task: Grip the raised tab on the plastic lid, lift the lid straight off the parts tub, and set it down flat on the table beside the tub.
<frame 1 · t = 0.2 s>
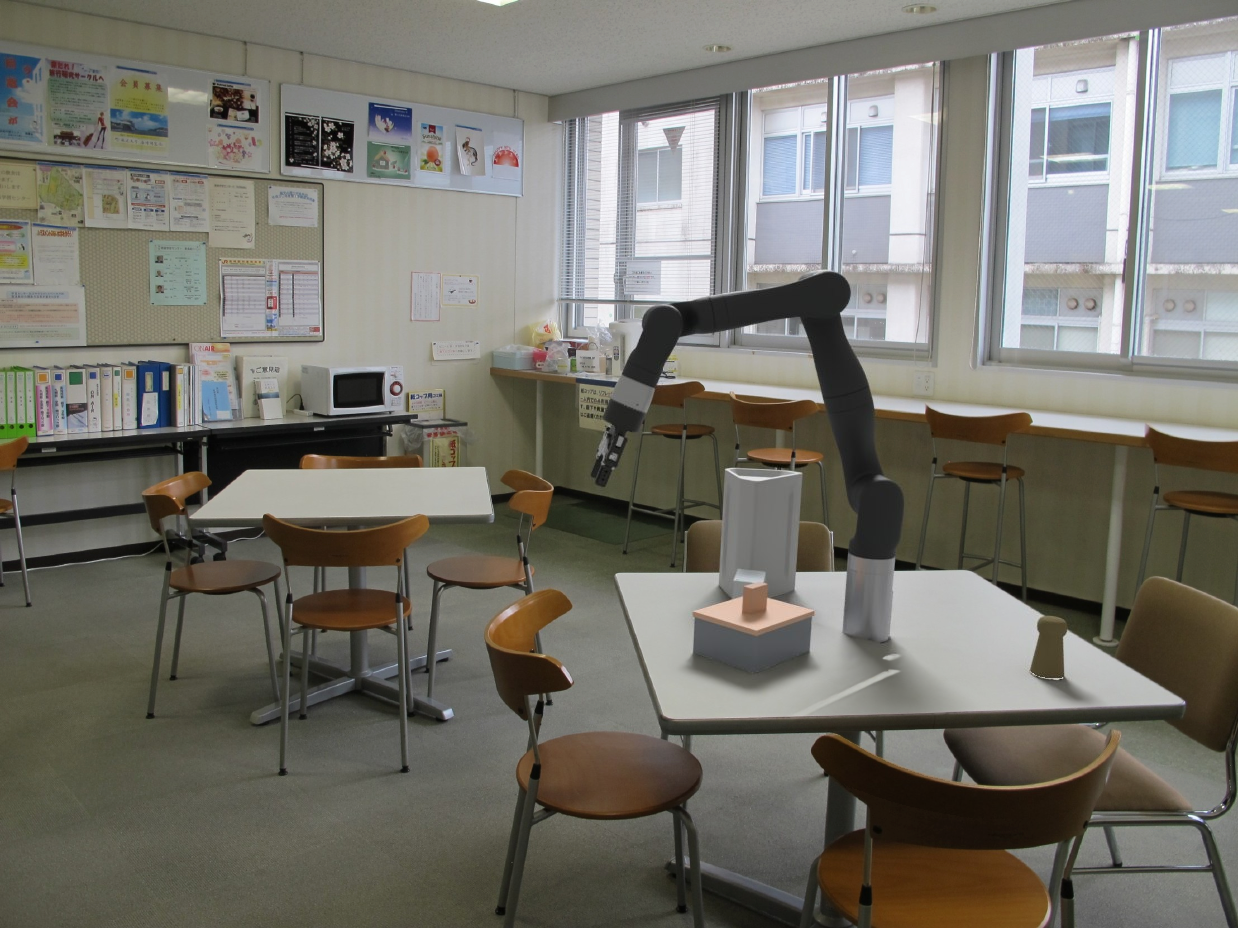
hand: (596, 481, 192), 31 cm above the table, tool tilted 20°, fingers open, 8 cm apart
skincare box: (746, 624, 210), on the table
tub: (751, 656, 189), on the table
lid: (753, 616, 188), point 8 cm above the table, touching tub
metal part A: (755, 644, 193), point 1 cm above the table, touching tub
metal part B: (747, 659, 185), point 1 cm above the table, touching tub
cork: (1046, 675, 186), on the table
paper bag: (747, 591, 235), on the table
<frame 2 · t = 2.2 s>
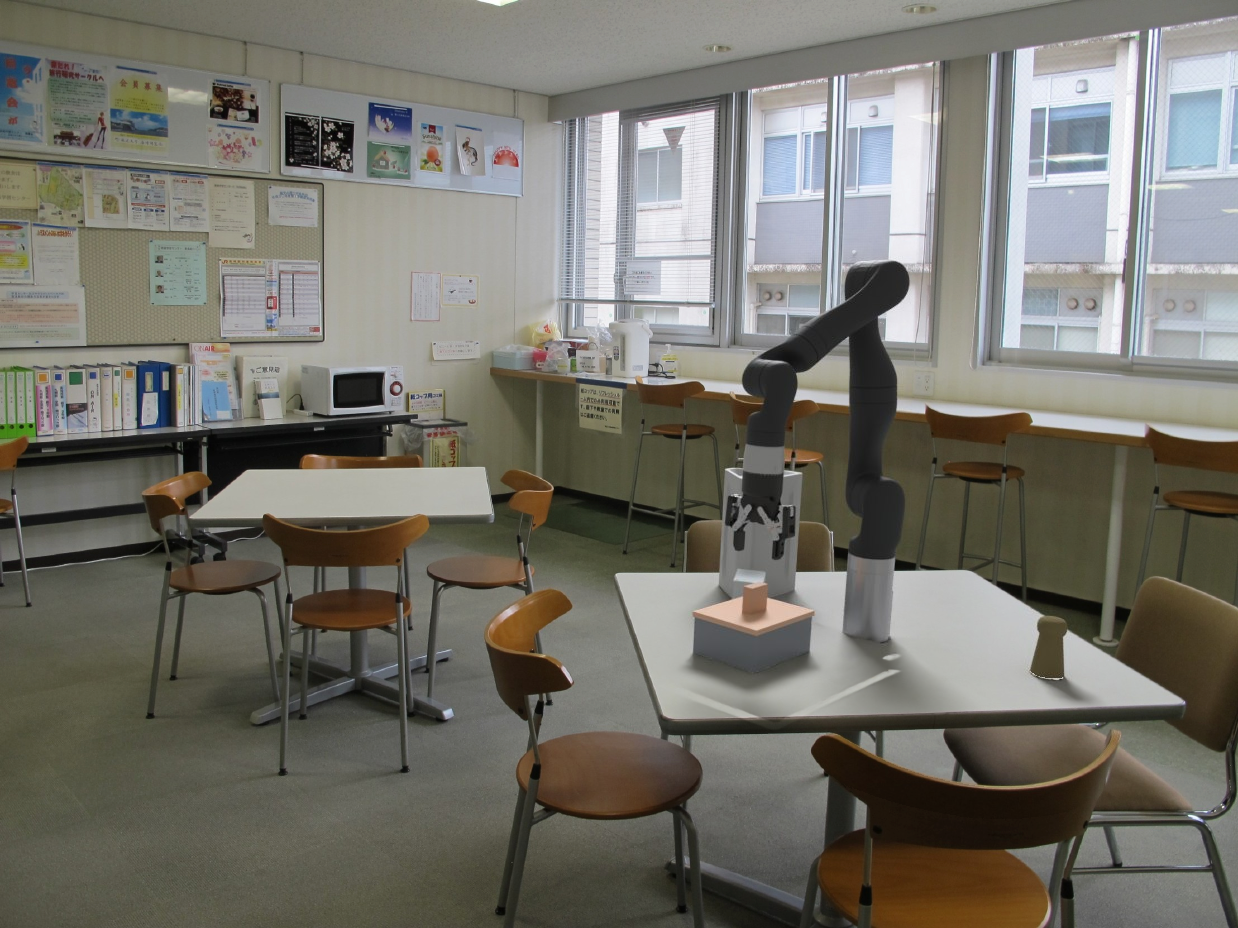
hand: (757, 554, 186), 20 cm above the table, tool pointing down, fingers open, 8 cm apart
nothing on the table moved.
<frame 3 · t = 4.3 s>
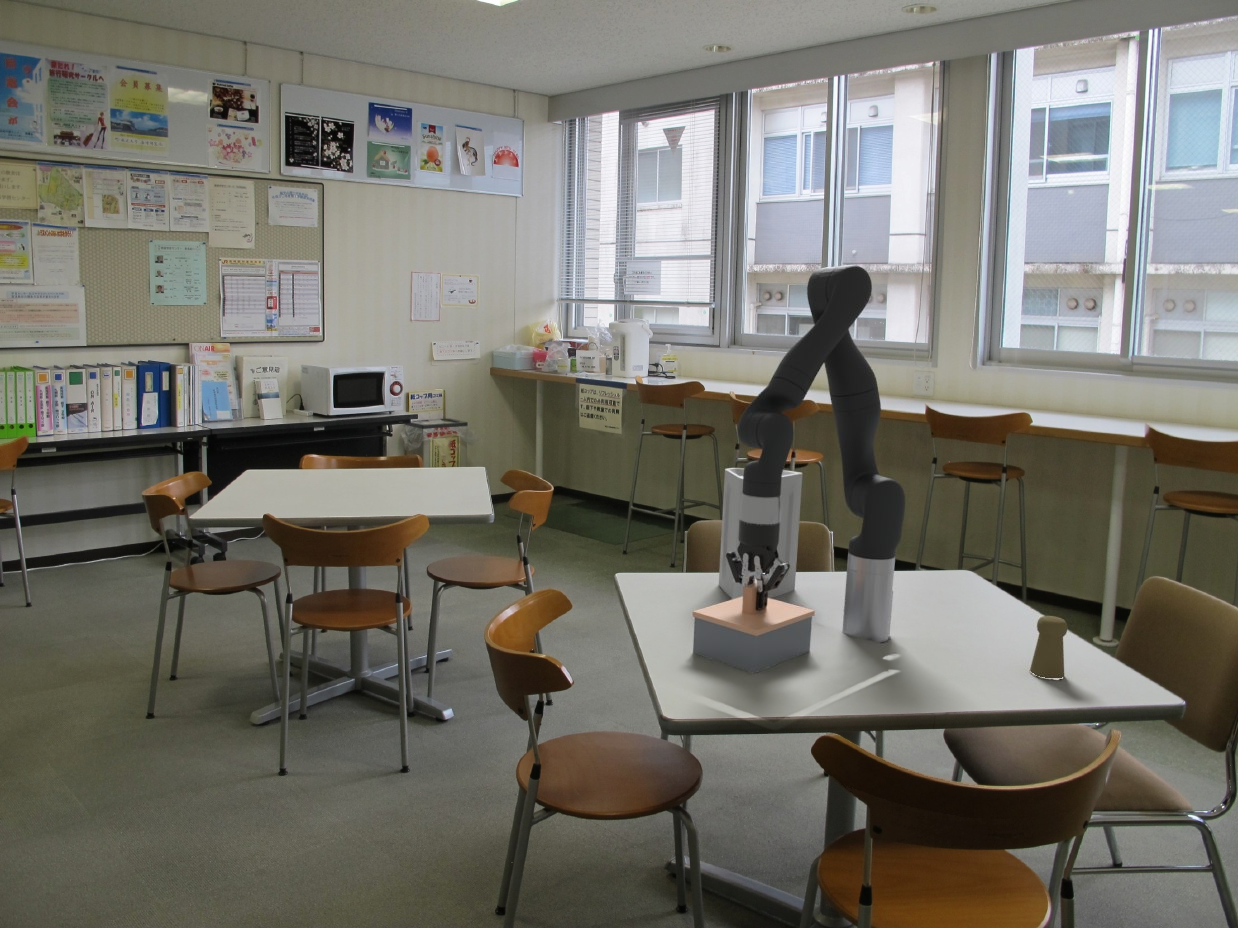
hand: (754, 608, 188), 10 cm above the table, tool pointing down, fingers closed on lid
lid: (754, 616, 188), point 8 cm above the table, touching gripper, tub
everything else where it was.
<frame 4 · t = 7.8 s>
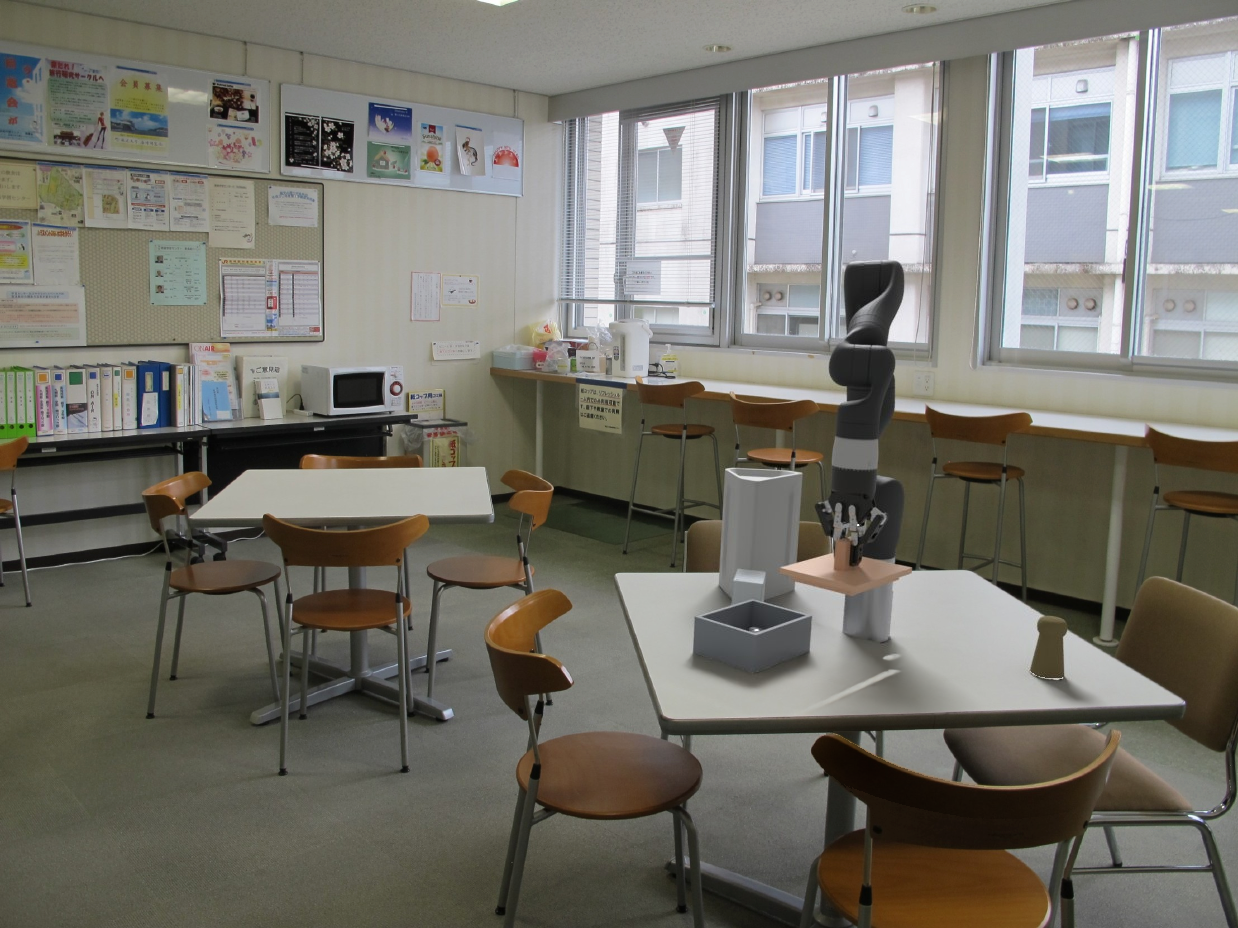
hand: (847, 563, 171), 23 cm above the table, tool pointing down, fingers closed on lid
lid: (846, 573, 171), point 21 cm above the table, touching gripper
everything else where it was.
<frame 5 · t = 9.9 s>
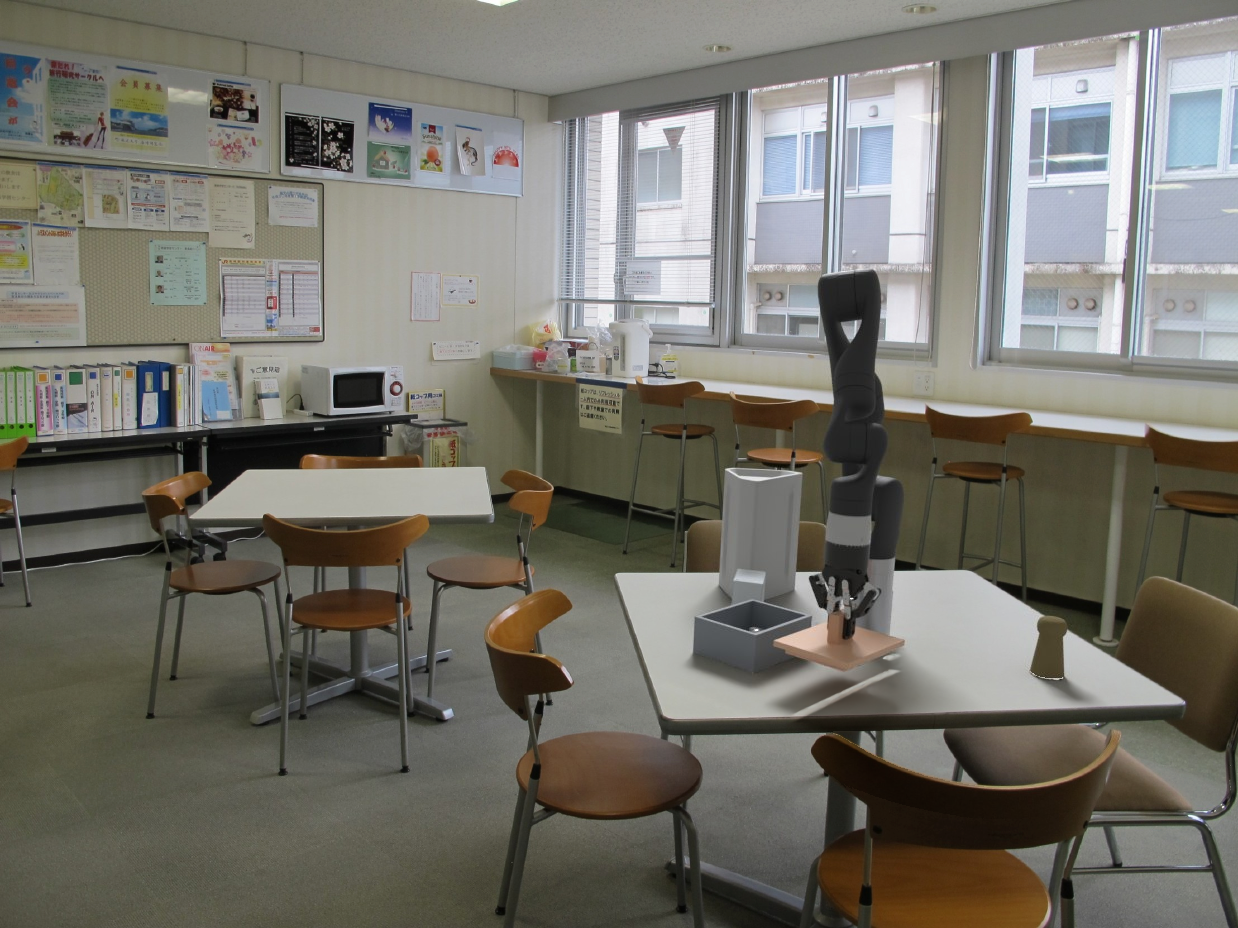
hand: (840, 636, 173), 10 cm above the table, tool pointing down, fingers closed on lid
lid: (839, 645, 173), point 8 cm above the table, touching gripper
everything else where it was.
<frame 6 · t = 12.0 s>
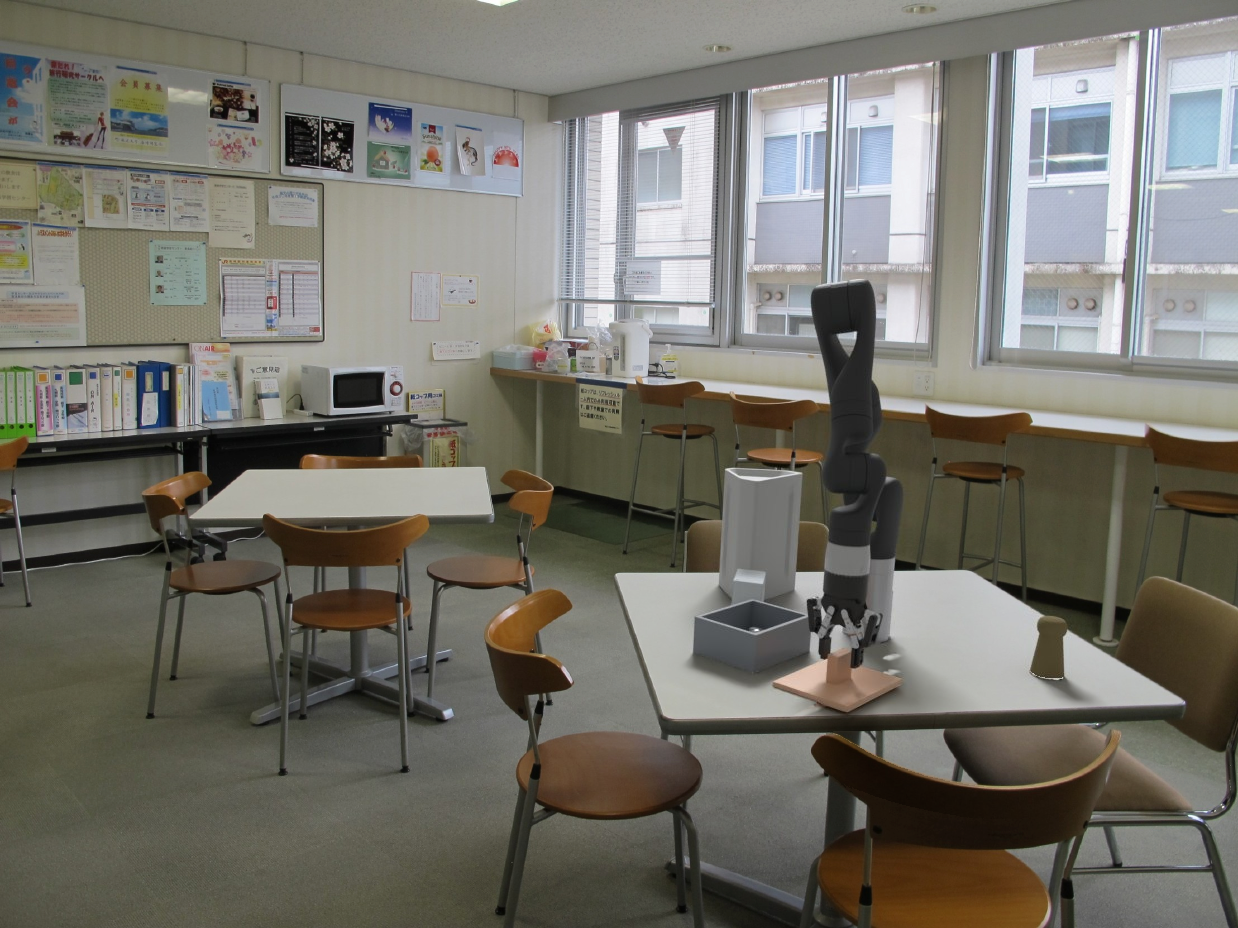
hand: (839, 662, 174), 5 cm above the table, tool pointing down, fingers open, 5 cm apart
lid: (838, 685, 174), point 1 cm above the table
everything else where it was.
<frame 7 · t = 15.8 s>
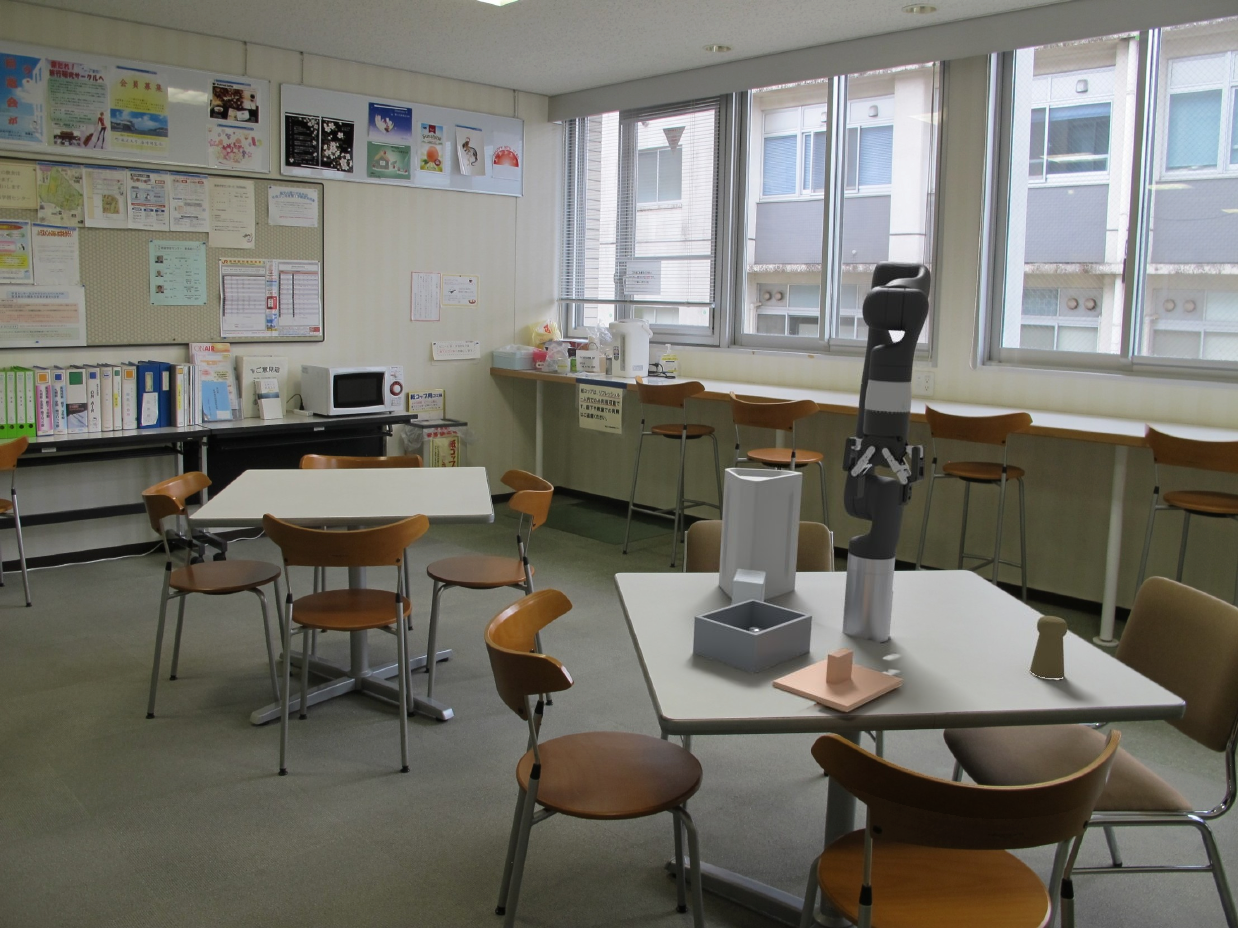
hand: (880, 501, 172), 33 cm above the table, tool pointing down, fingers open, 8 cm apart
nothing on the table moved.
at the end: lid inside the target area (0.5 cm from its centre), point 0.8 cm above the table; lid tilted 0°; lid touching table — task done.
